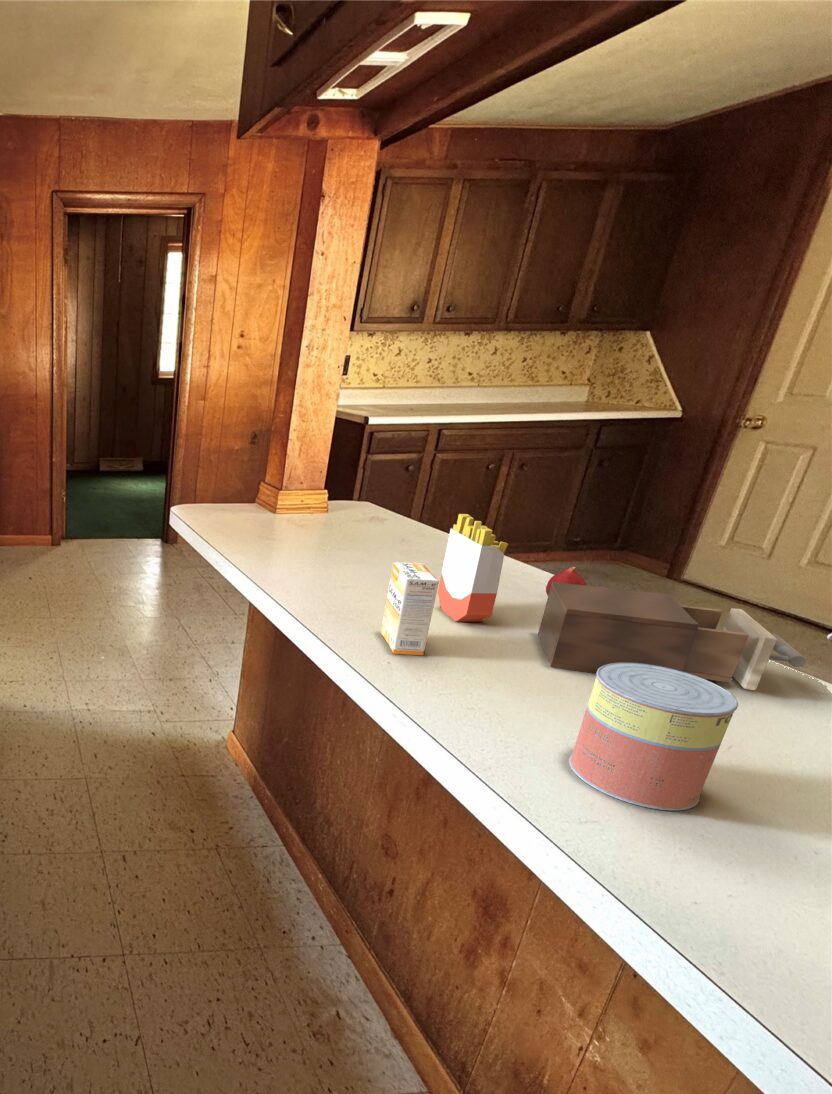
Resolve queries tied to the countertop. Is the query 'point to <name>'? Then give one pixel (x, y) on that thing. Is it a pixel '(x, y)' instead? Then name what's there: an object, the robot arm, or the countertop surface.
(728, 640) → the drawer
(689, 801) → the canned food
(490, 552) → the french fries container
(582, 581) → the onion
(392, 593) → the supplement box
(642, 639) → the cabinet
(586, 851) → the countertop surface
